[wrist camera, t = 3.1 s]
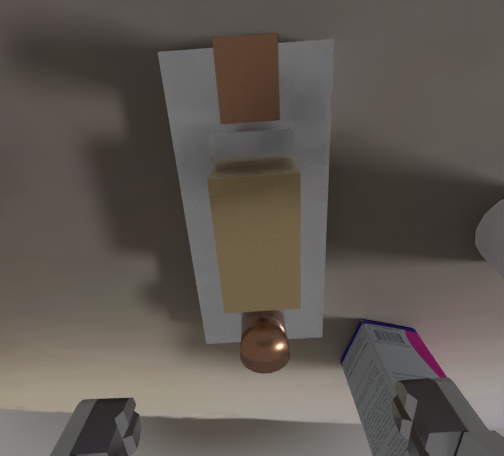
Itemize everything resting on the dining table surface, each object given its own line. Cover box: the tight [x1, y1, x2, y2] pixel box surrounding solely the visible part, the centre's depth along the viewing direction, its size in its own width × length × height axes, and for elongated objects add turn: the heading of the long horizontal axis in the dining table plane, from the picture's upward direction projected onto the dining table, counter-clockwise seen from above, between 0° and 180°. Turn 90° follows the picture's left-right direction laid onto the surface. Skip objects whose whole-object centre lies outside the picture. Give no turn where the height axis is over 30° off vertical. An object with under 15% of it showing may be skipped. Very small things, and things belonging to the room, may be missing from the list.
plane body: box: [158, 33, 334, 373], centre depth 20 cm, size 22×10×10 cm, turn 4°
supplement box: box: [341, 319, 447, 456], centre depth 25 cm, size 6×6×12 cm
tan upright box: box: [207, 158, 301, 313], centre depth 20 cm, size 9×5×4 cm, turn 4°
